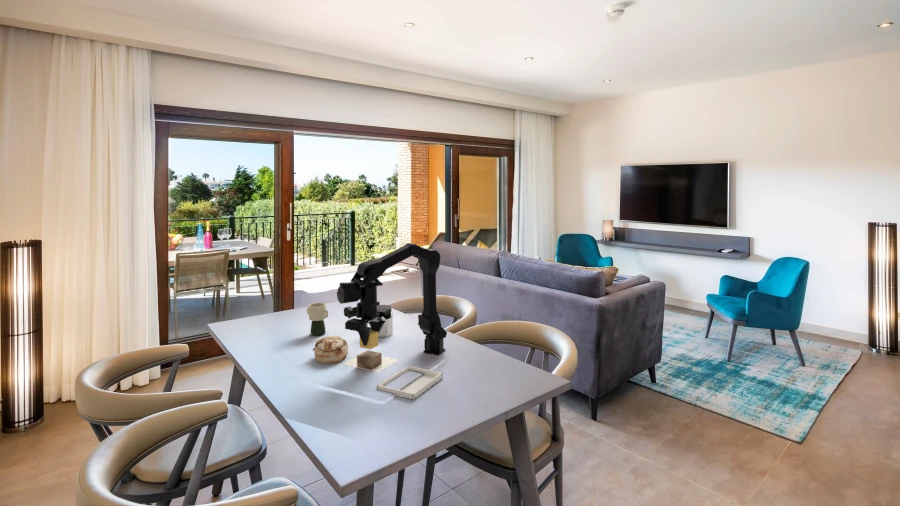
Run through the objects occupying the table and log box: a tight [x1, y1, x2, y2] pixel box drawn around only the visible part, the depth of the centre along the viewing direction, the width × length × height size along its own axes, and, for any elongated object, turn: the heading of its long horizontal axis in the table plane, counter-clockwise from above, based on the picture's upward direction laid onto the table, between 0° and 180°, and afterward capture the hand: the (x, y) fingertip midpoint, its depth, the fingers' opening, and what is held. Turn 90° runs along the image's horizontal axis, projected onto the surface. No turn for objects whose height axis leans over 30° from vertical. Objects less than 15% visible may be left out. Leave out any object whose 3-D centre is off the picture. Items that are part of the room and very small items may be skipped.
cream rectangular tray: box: [376, 365, 443, 401], centre depth 146 cm, size 13×18×2 cm
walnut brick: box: [356, 349, 383, 371], centre depth 159 cm, size 6×6×4 cm
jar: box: [377, 304, 394, 338], centre depth 196 cm, size 9×8×12 cm
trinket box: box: [312, 334, 349, 365], centre depth 168 cm, size 13×15×8 cm
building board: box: [342, 355, 399, 373], centre depth 163 cm, size 15×13×1 cm
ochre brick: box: [359, 330, 379, 350], centre depth 158 cm, size 4×4×5 cm
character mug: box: [306, 302, 329, 336], centre depth 195 cm, size 11×7×13 cm, turn 66°
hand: (369, 343), depth 159 cm, fingers closed on ochre brick, 4 cm apart
